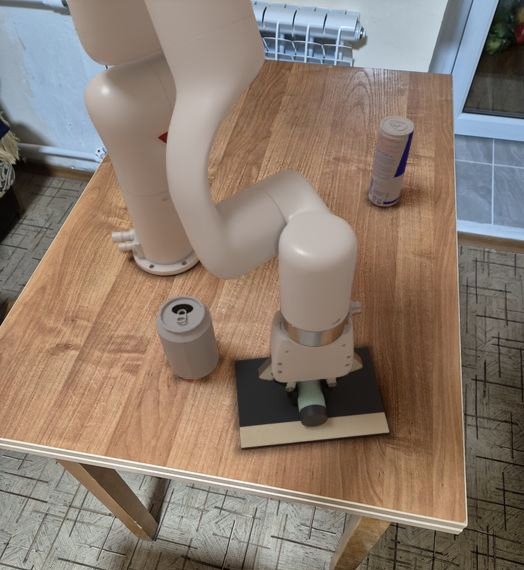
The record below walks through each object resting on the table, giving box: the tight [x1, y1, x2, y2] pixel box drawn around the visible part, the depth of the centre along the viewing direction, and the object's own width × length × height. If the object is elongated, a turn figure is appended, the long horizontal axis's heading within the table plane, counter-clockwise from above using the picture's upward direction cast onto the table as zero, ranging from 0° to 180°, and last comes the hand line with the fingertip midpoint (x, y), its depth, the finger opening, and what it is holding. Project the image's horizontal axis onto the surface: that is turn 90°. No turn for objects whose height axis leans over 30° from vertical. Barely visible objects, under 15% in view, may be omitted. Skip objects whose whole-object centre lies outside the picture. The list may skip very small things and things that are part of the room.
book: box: [234, 346, 390, 450], centre depth 73 cm, size 20×14×1 cm
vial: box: [297, 379, 328, 427], centre depth 71 cm, size 10×4×4 cm, turn 5°
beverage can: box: [368, 115, 415, 208], centre depth 89 cm, size 6×6×15 cm
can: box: [155, 294, 220, 380], centre depth 72 cm, size 8×8×12 cm
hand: (308, 394), depth 72 cm, fingers closed on vial, 3 cm apart
